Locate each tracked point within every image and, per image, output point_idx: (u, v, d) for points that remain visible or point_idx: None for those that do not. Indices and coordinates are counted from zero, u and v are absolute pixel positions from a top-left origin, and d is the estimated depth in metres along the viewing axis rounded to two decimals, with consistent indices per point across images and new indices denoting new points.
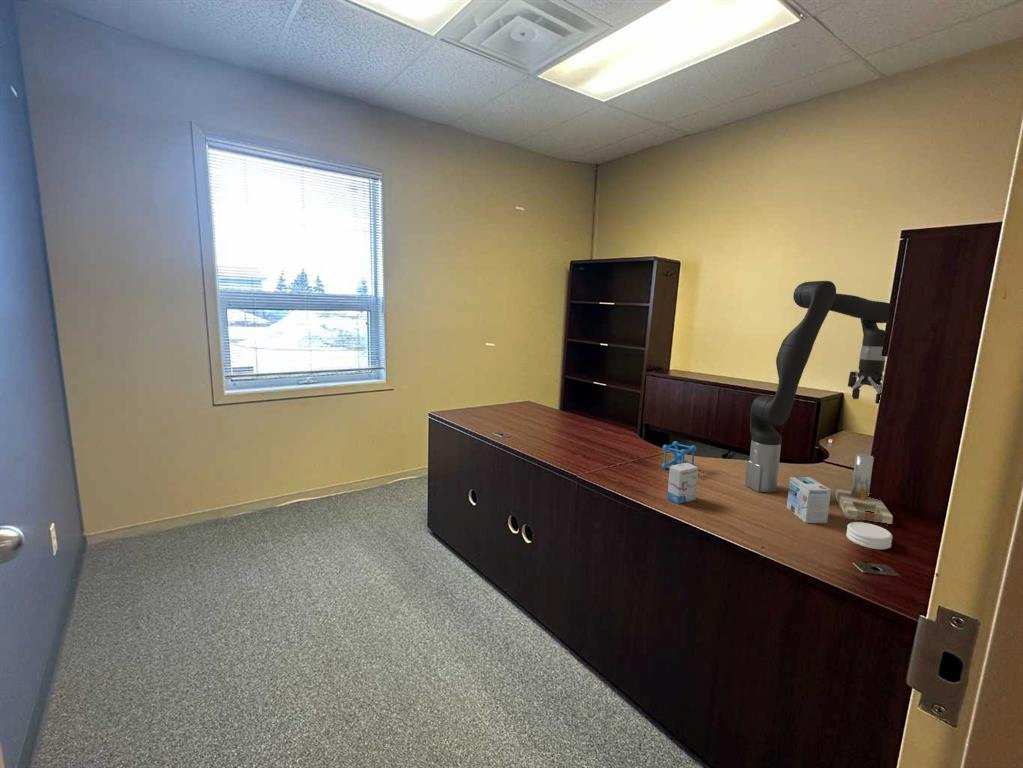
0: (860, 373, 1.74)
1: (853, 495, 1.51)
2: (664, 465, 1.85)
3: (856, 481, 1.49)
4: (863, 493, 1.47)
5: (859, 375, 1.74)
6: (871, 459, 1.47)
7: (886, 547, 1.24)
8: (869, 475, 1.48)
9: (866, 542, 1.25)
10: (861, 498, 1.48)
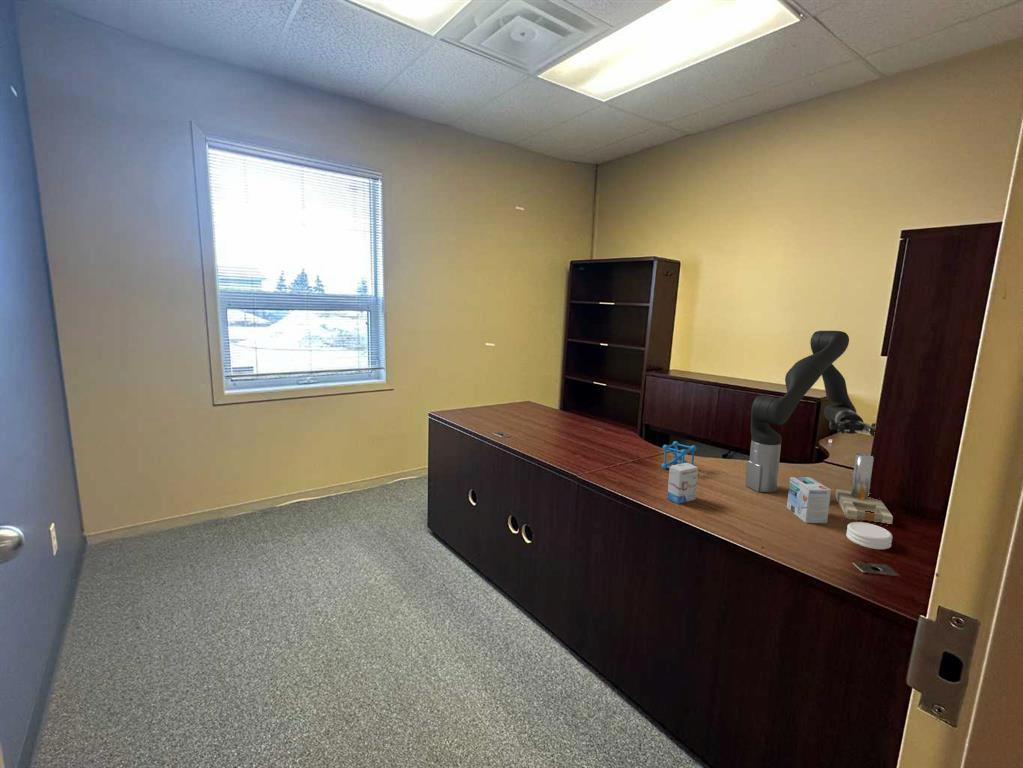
0: (842, 421, 1.68)
1: (853, 495, 1.51)
2: (664, 465, 1.85)
3: (856, 481, 1.49)
4: (863, 493, 1.47)
5: (842, 421, 1.67)
6: (871, 459, 1.47)
7: (886, 547, 1.24)
8: (869, 475, 1.48)
9: (866, 542, 1.25)
10: (861, 498, 1.48)
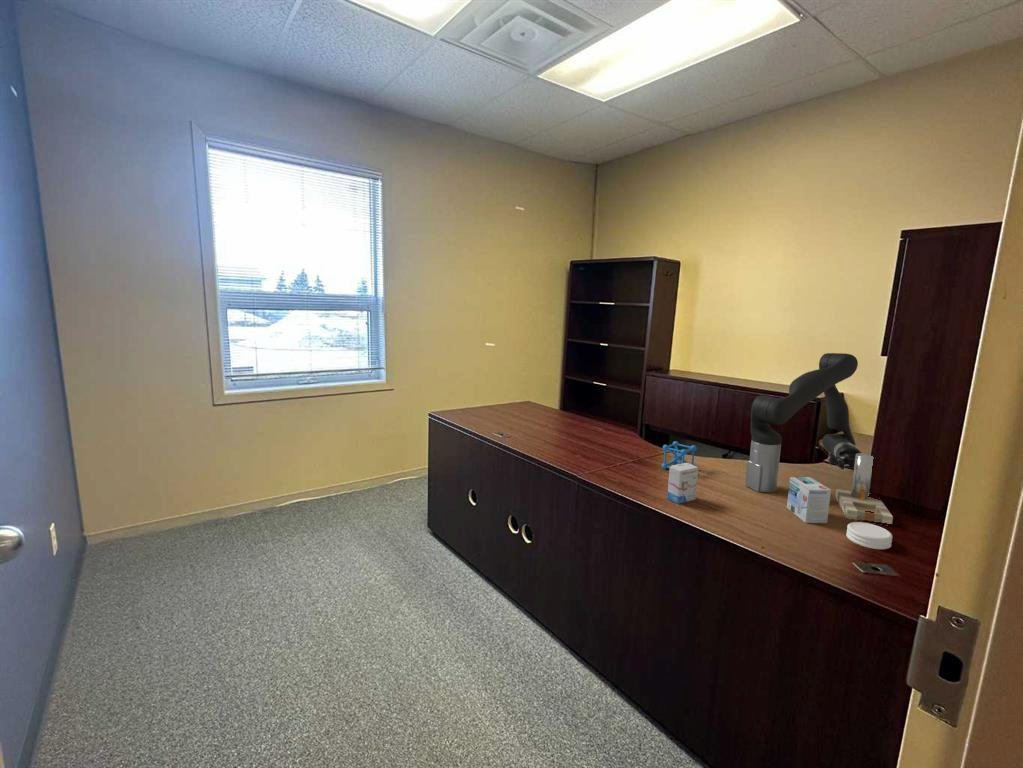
0: (842, 455, 1.64)
1: (853, 495, 1.51)
2: (664, 465, 1.85)
3: (856, 481, 1.49)
4: (863, 493, 1.47)
5: (841, 455, 1.64)
6: (871, 459, 1.47)
7: (886, 547, 1.24)
8: (869, 475, 1.48)
9: (866, 542, 1.25)
10: (861, 498, 1.48)
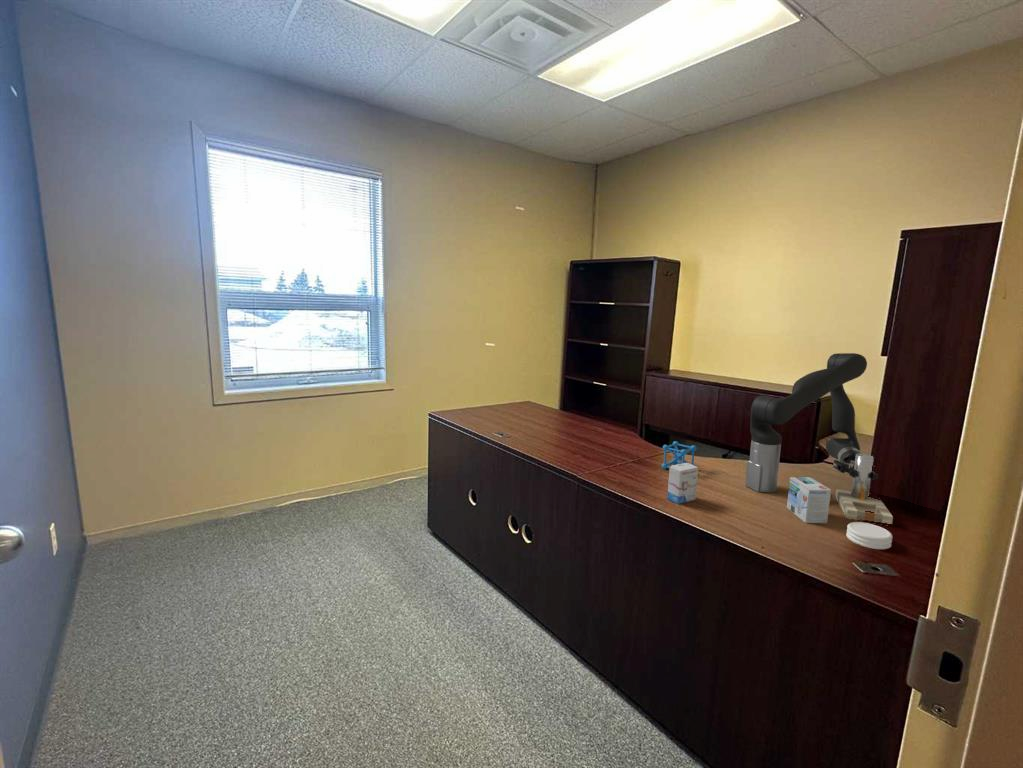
0: (846, 461, 1.58)
1: (853, 495, 1.51)
2: (664, 465, 1.85)
3: (856, 481, 1.49)
4: (863, 493, 1.47)
5: (846, 461, 1.57)
6: (871, 459, 1.47)
7: (886, 547, 1.24)
8: (869, 475, 1.48)
9: (866, 542, 1.25)
10: (861, 498, 1.48)
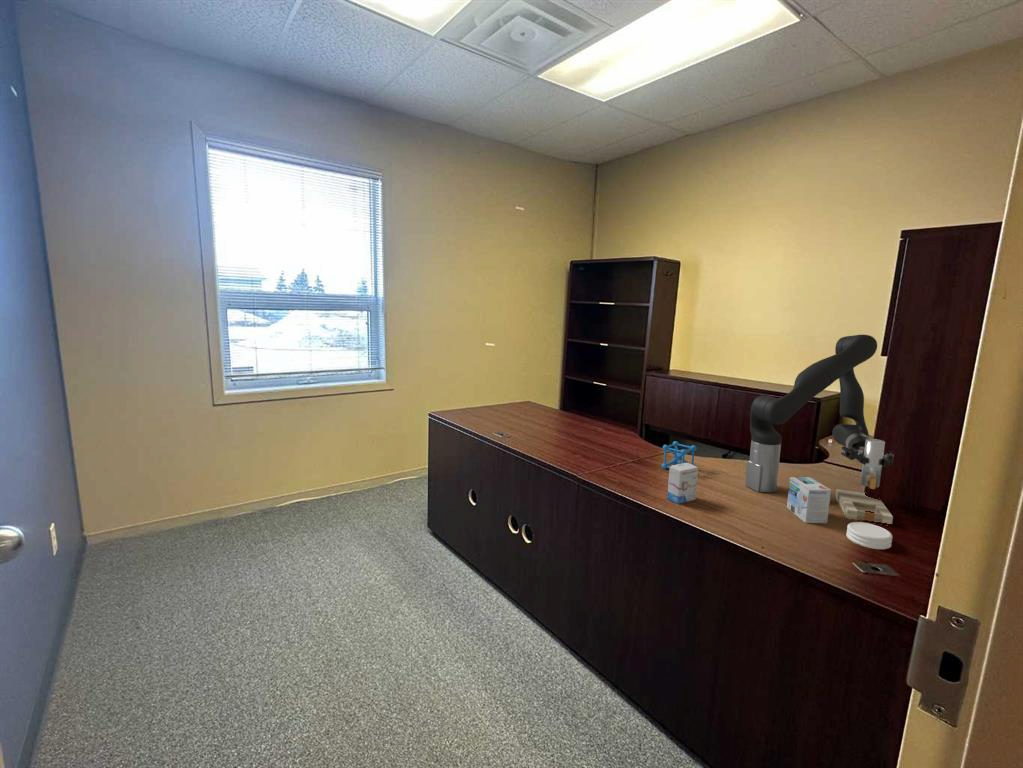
0: (854, 447, 1.49)
1: (863, 483, 1.41)
2: (664, 465, 1.85)
3: (866, 468, 1.40)
4: (874, 481, 1.38)
5: (855, 448, 1.48)
6: (882, 444, 1.37)
7: (886, 547, 1.24)
8: (880, 462, 1.38)
9: (866, 542, 1.25)
10: (871, 486, 1.39)
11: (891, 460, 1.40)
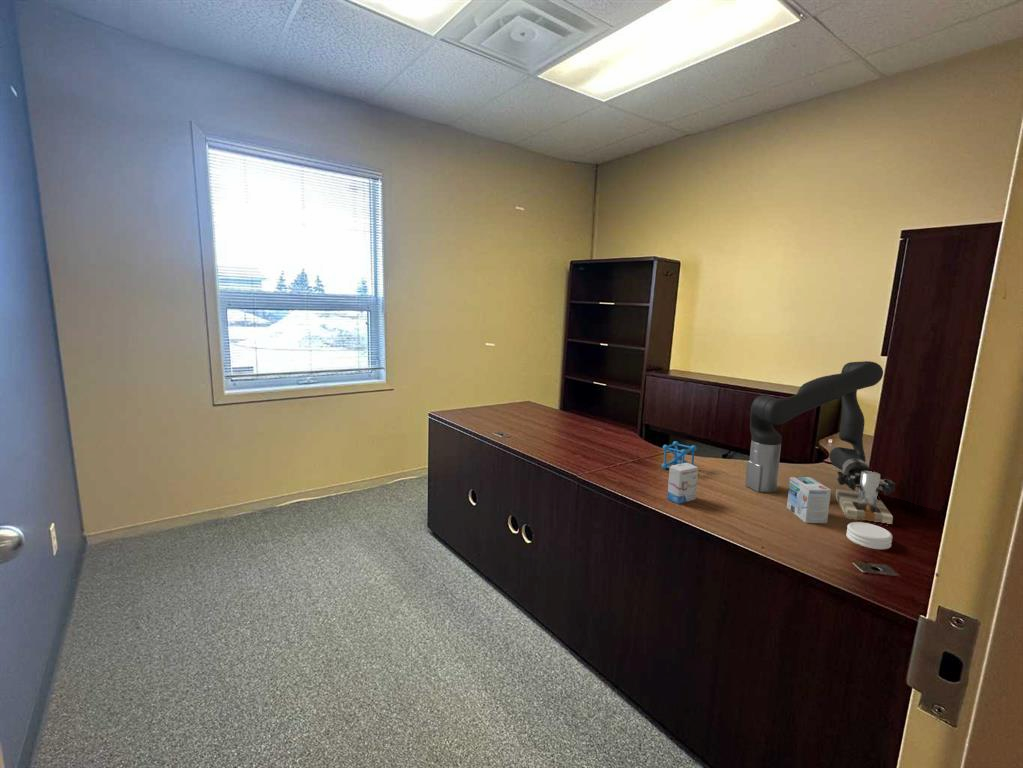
0: (852, 473, 1.50)
1: None
2: (664, 465, 1.85)
3: (862, 500, 1.42)
4: None
5: (851, 474, 1.50)
6: (878, 477, 1.39)
7: (886, 547, 1.24)
8: (876, 494, 1.40)
9: (866, 542, 1.25)
10: None
11: (892, 488, 1.41)
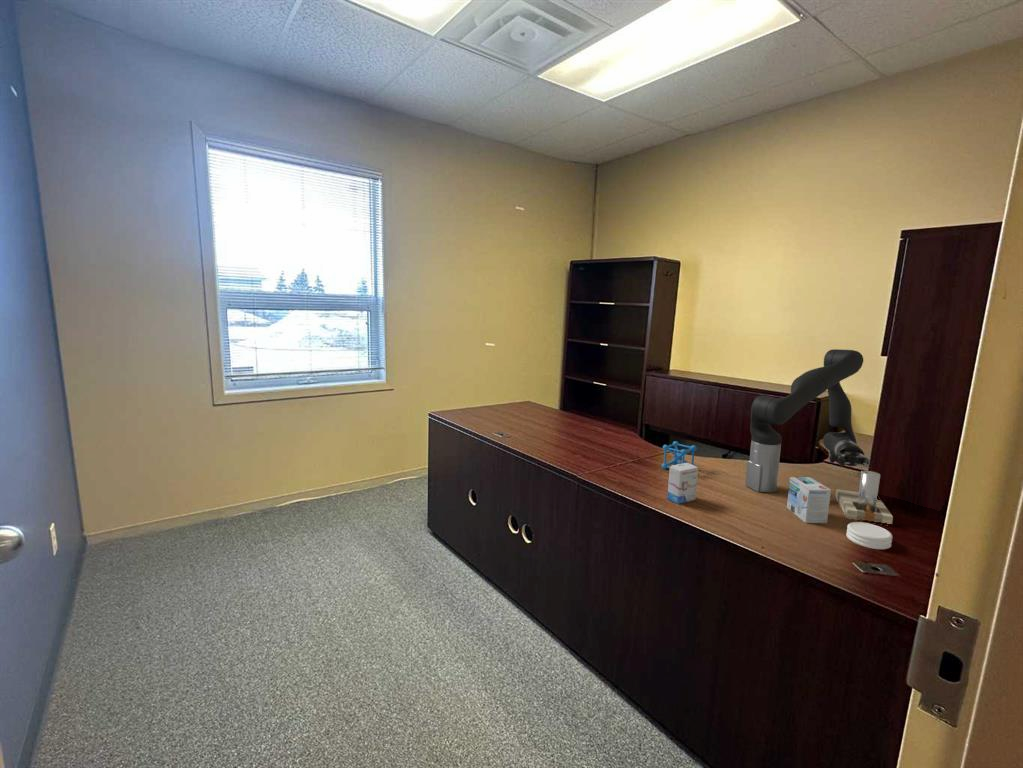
0: (843, 453, 1.62)
1: None
2: (664, 465, 1.85)
3: (862, 500, 1.42)
4: None
5: (842, 453, 1.61)
6: (877, 477, 1.39)
7: (886, 547, 1.24)
8: (876, 494, 1.40)
9: (866, 542, 1.25)
10: None
11: None
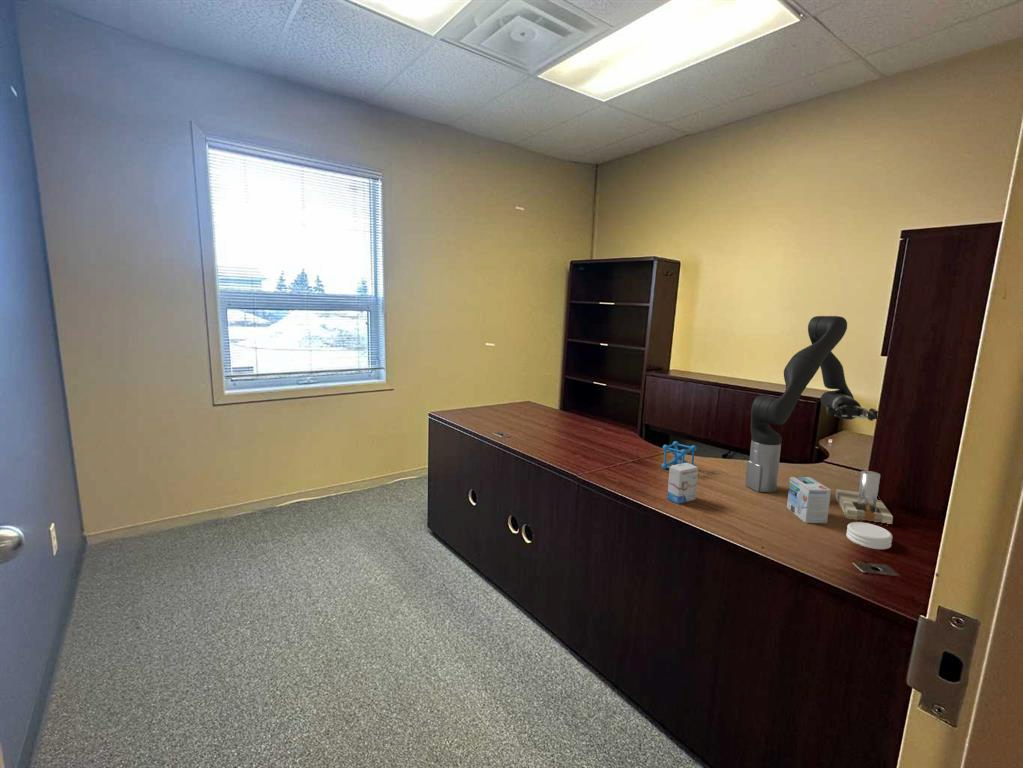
0: (840, 406, 1.65)
1: None
2: (664, 465, 1.85)
3: (862, 500, 1.42)
4: None
5: (839, 406, 1.64)
6: (877, 477, 1.39)
7: (886, 547, 1.24)
8: (876, 494, 1.40)
9: (866, 542, 1.25)
10: None
11: None
